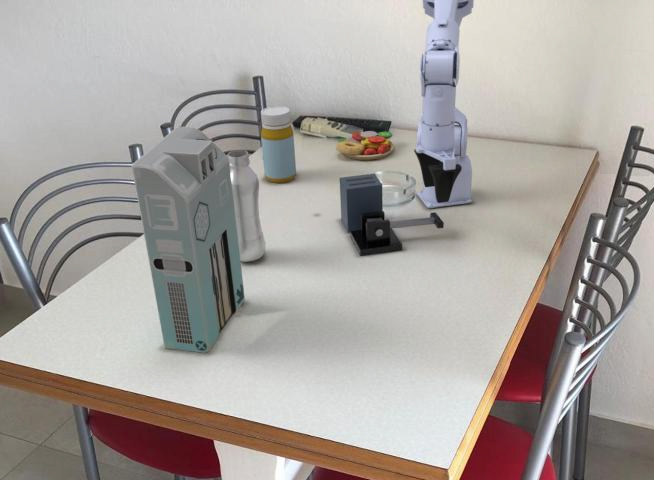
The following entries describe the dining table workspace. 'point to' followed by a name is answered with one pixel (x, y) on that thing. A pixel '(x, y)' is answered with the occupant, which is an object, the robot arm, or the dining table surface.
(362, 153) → the toy food set
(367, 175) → the toaster body
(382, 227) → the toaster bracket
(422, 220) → the lever
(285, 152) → the bottle
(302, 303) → the dining table surface
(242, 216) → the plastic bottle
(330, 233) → the dining table surface
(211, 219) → the device
